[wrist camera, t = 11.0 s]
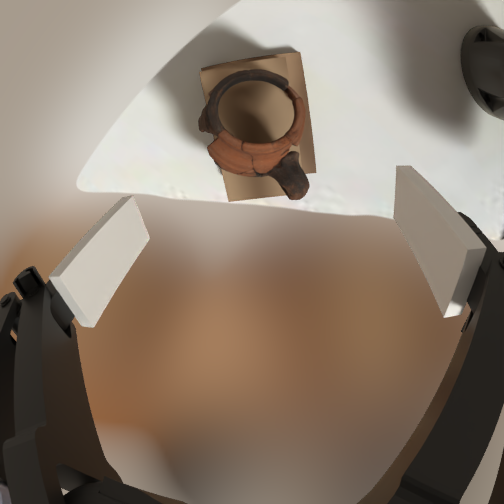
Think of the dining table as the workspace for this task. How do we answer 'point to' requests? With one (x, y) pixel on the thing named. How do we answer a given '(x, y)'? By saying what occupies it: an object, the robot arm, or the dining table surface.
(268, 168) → the broken clay pot
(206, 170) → the dining table surface
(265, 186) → the stand
